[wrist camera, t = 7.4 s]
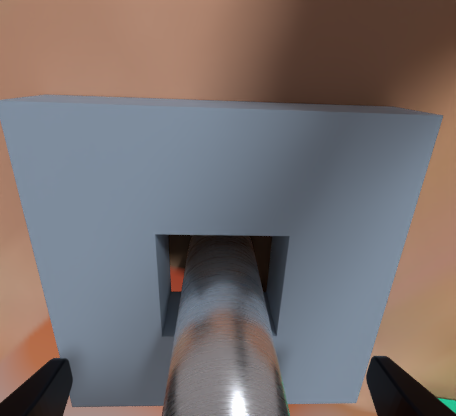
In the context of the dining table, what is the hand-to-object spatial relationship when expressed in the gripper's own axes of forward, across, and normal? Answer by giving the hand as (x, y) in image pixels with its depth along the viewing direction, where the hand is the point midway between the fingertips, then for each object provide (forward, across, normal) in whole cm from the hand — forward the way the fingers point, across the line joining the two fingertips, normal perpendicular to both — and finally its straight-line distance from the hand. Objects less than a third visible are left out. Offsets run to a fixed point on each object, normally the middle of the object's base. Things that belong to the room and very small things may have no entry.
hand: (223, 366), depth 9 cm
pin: (+7, 0, 0) cm, 7 cm away
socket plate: (+7, 0, 0) cm, 7 cm away
